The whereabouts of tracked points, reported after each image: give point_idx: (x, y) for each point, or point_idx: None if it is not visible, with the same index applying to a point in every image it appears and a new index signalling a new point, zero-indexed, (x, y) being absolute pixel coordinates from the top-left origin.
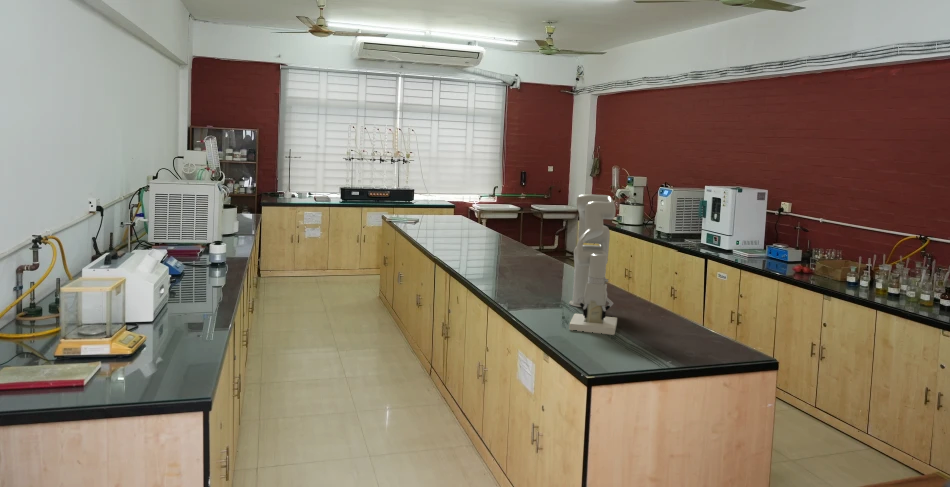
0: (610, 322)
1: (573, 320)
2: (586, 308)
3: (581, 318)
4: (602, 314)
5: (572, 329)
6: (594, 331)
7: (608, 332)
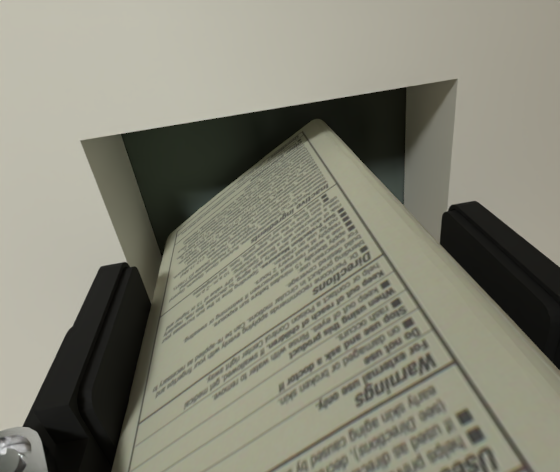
0: (555, 231)
1: (25, 413)
2: (90, 452)
3: (57, 259)
4: None
5: None
6: None
7: None
